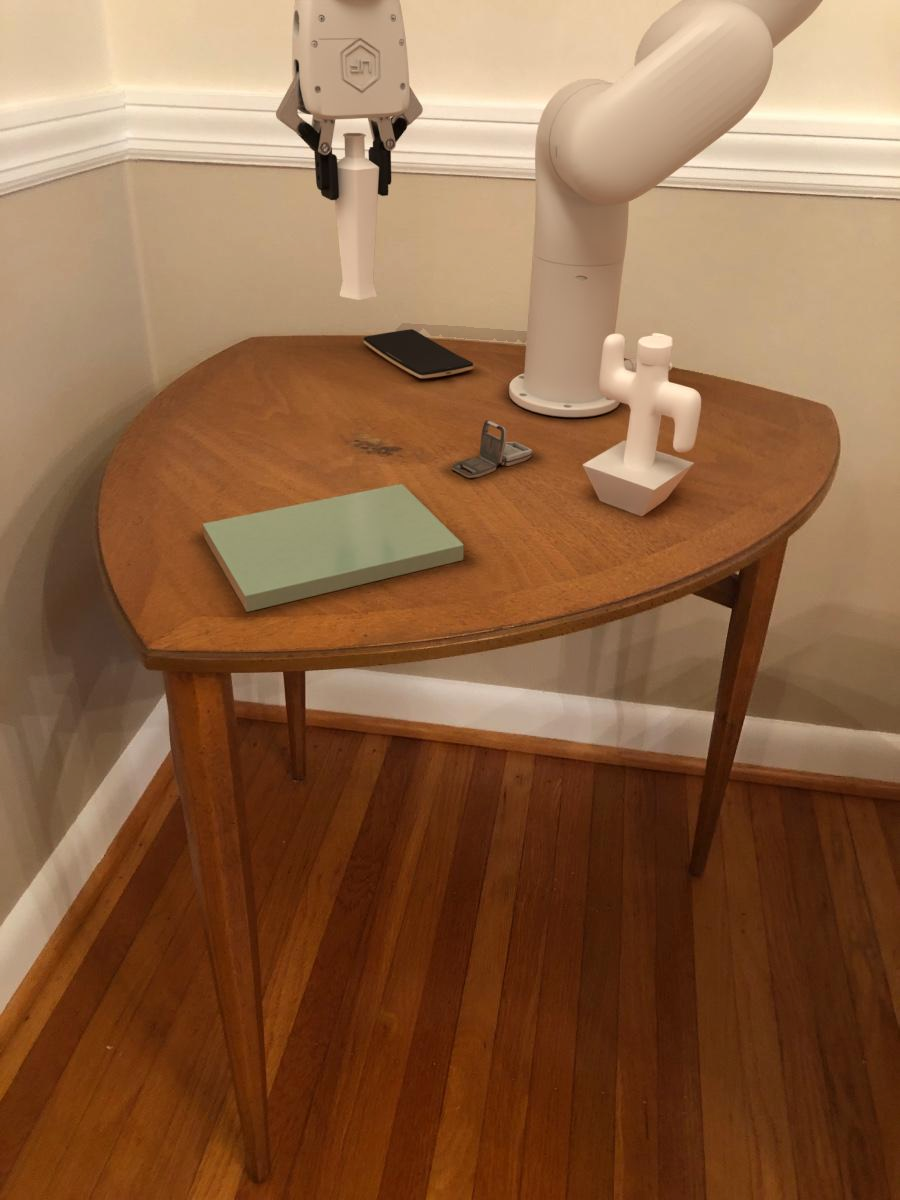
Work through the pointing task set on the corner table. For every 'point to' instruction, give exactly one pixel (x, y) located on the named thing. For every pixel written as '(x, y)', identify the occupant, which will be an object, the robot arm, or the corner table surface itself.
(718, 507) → the corner table surface
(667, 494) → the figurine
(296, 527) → the tile slab
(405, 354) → the smartphone
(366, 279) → the white faceted vase
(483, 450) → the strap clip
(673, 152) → the robot arm
